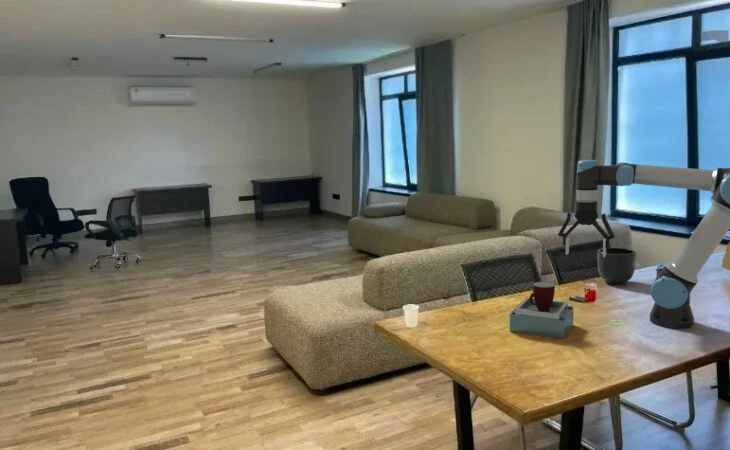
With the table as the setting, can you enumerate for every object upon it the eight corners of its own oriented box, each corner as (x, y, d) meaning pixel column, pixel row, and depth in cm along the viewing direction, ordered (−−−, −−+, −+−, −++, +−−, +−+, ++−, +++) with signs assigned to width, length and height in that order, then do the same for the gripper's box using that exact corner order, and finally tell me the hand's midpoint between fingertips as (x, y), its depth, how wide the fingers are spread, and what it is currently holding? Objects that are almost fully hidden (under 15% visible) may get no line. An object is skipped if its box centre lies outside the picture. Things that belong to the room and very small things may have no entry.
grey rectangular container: (573, 324, 221) (573, 302, 219) (564, 339, 206) (564, 315, 205) (521, 318, 231) (521, 296, 229) (509, 331, 216) (509, 308, 215)
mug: (540, 315, 212) (540, 289, 210) (523, 310, 218) (523, 285, 217) (559, 310, 217) (559, 284, 215) (542, 305, 224) (542, 280, 222)
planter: (592, 278, 286) (593, 247, 284) (628, 278, 284) (629, 247, 281) (601, 287, 269) (602, 254, 267) (640, 287, 267) (641, 254, 265)
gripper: (623, 200, 214) (621, 255, 217) (555, 198, 226) (554, 250, 230) (621, 202, 207) (619, 259, 211) (551, 201, 220) (550, 254, 223)
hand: (585, 255), depth 220 cm, fingers open, 13 cm apart
